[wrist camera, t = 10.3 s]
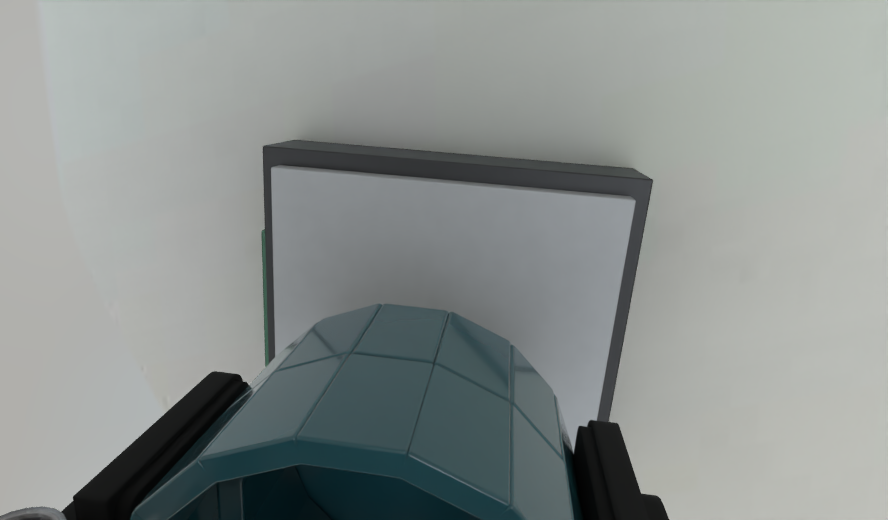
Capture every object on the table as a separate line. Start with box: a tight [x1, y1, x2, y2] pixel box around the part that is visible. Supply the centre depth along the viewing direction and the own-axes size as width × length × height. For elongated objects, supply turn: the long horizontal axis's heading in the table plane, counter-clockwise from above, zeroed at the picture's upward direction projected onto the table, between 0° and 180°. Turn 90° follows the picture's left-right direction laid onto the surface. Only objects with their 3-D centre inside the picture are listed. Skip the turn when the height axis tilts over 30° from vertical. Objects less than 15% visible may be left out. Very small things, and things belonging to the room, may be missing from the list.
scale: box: [262, 140, 653, 454], centre depth 18 cm, size 11×11×3 cm
